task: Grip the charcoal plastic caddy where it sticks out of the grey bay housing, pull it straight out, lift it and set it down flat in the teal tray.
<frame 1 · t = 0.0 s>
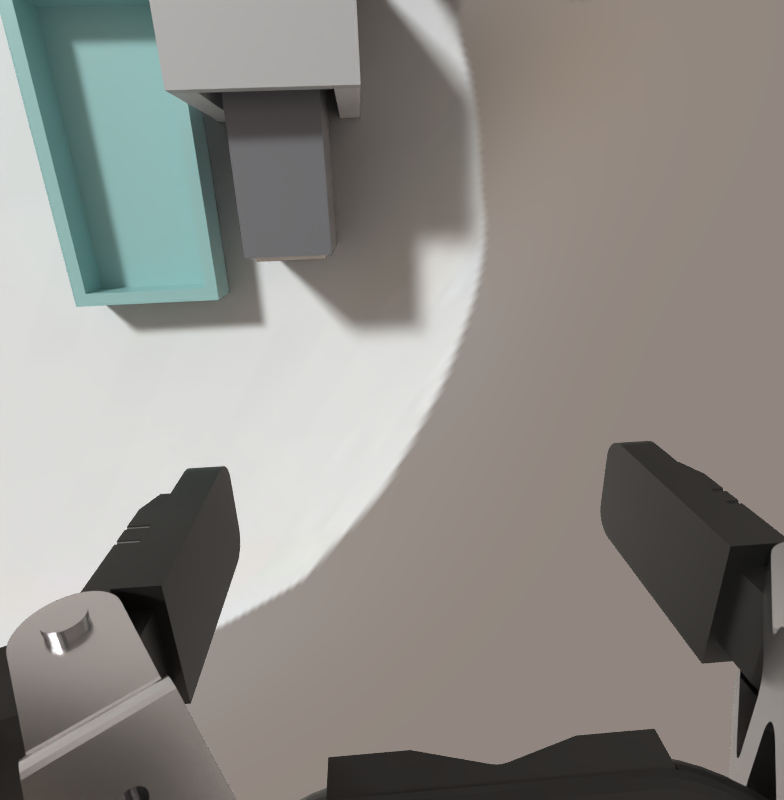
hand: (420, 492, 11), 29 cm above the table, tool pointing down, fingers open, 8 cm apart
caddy: (292, 145, 35), on the table
printer bay: (283, 48, 32), on the table
tray: (137, 158, 34), on the table
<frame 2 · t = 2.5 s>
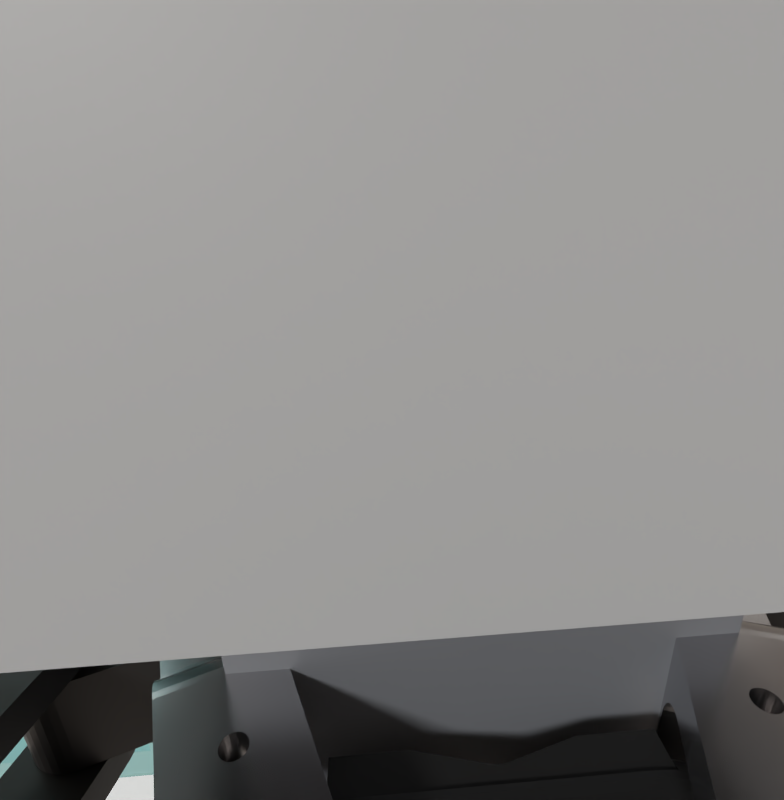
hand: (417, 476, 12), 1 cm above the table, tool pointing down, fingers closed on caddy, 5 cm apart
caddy: (407, 326, 12), on the table, touching gripper
printer bay: (399, 46, 10), on the table
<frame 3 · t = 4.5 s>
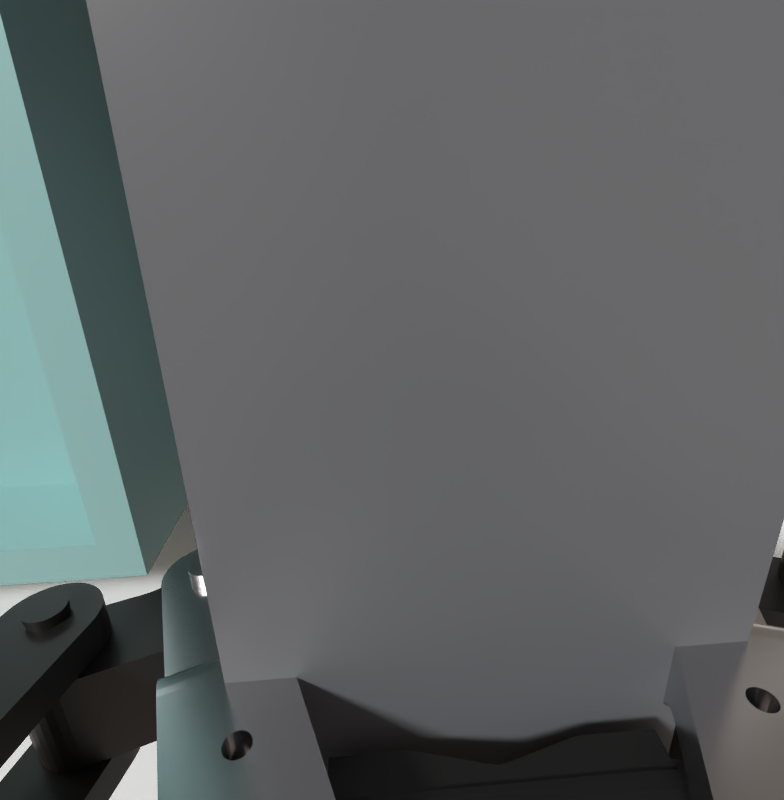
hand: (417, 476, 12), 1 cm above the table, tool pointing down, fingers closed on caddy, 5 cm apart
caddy: (409, 321, 12), on the table, touching gripper
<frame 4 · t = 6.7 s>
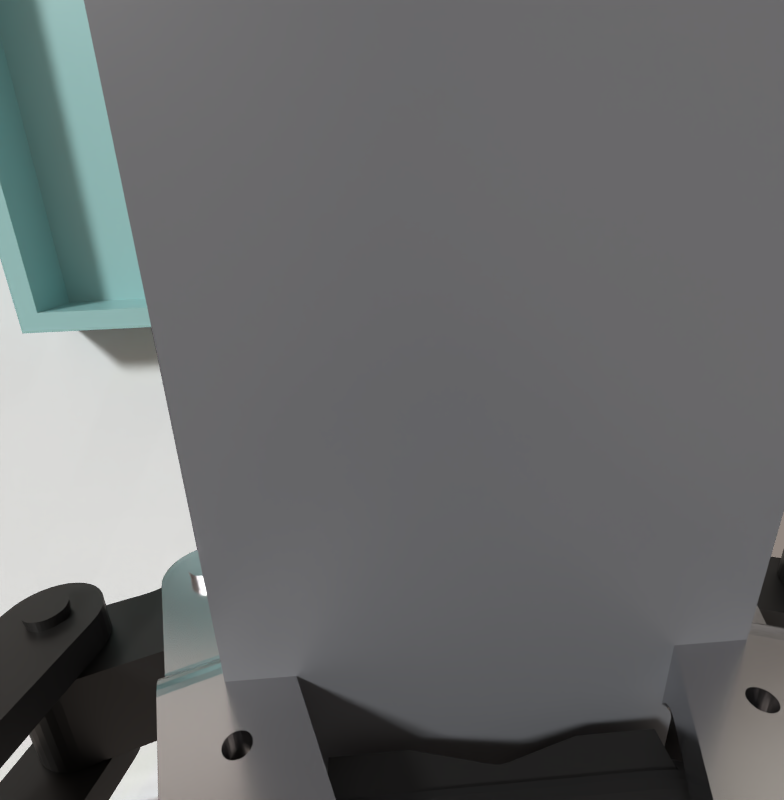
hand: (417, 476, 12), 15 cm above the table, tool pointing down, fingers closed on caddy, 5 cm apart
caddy: (409, 321, 12), point 13 cm above the table, touching gripper
tray: (122, 92, 21), on the table
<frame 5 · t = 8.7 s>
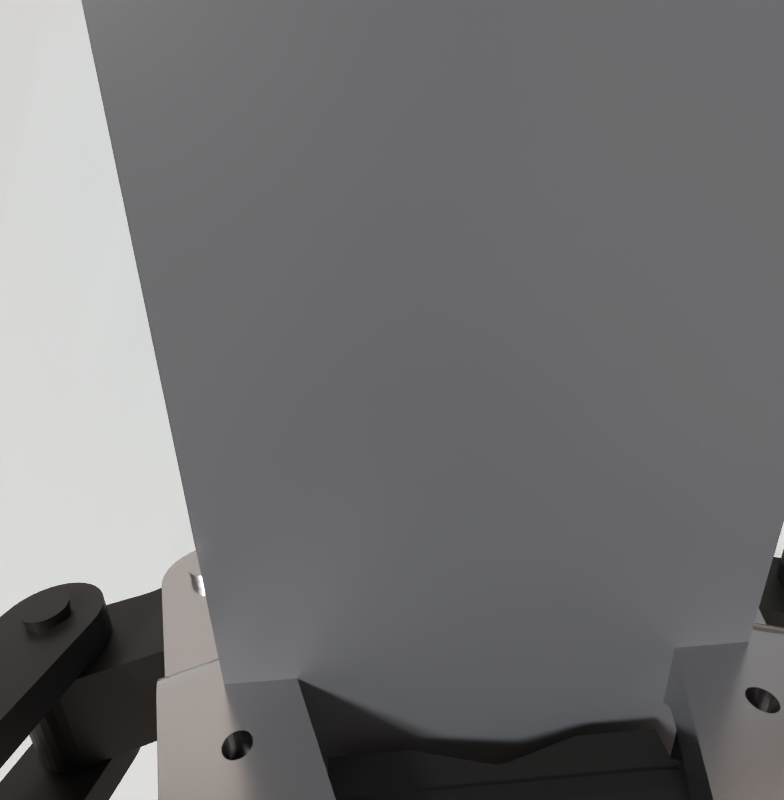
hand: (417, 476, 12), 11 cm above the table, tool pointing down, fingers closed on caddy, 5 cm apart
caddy: (409, 322, 12), point 9 cm above the table, touching gripper
when the fingers open (3 cm above the table, at t = 10.4 s): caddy drops 1 cm, resting on tray.
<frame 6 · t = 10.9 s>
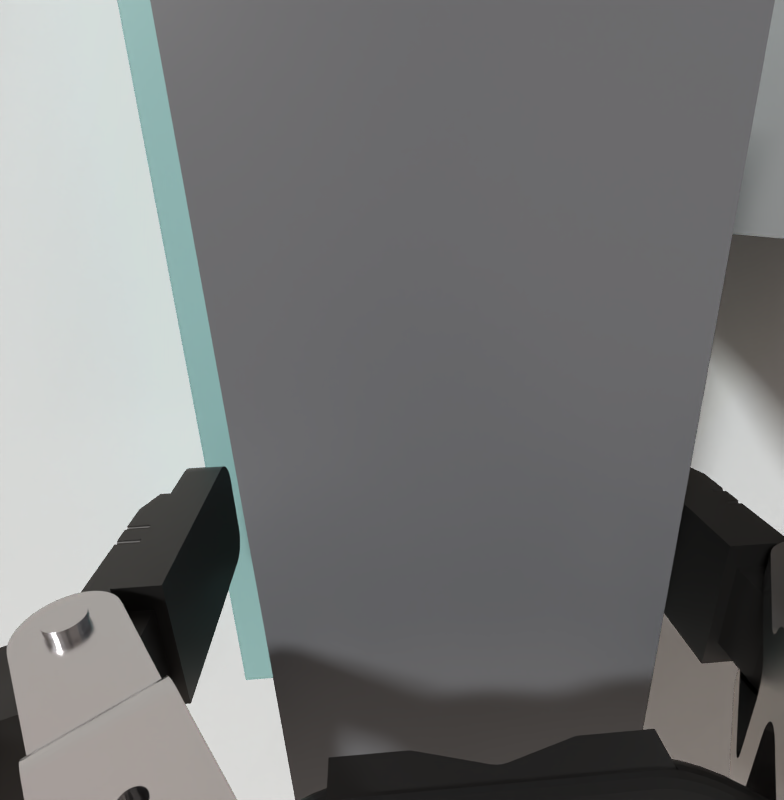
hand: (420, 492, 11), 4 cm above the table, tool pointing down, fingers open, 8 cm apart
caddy: (405, 313, 13), point 1 cm above the table, touching tray
tray: (401, 313, 14), on the table
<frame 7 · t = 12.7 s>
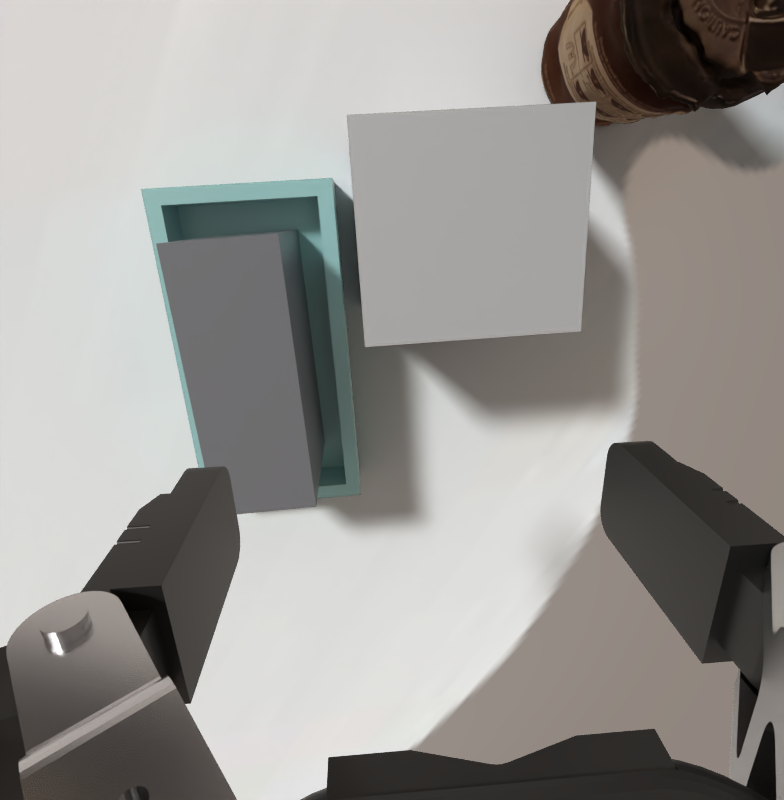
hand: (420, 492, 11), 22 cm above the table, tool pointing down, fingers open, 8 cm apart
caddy: (270, 346, 31), point 1 cm above the table, touching tray
printer bay: (435, 232, 30), on the table
tray: (271, 346, 32), on the table
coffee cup: (594, 67, 28), on the table
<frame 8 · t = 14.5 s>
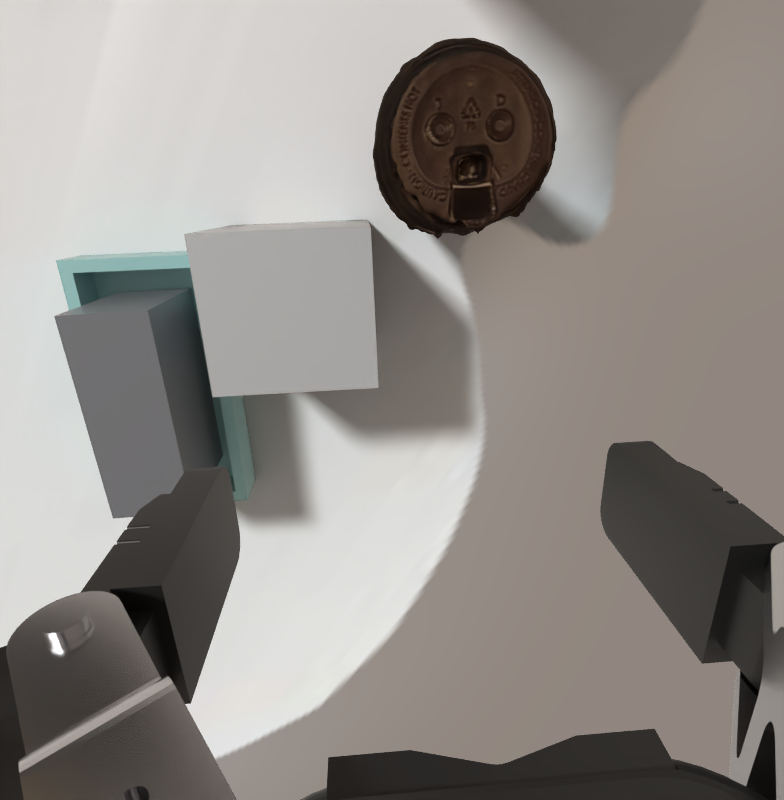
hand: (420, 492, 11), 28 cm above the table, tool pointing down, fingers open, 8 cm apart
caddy: (173, 378, 38), point 1 cm above the table, touching tray
printer bay: (306, 290, 37), on the table
tray: (176, 377, 39), on the table
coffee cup: (429, 163, 35), on the table
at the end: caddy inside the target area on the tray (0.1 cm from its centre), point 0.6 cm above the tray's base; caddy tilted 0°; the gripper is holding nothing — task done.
